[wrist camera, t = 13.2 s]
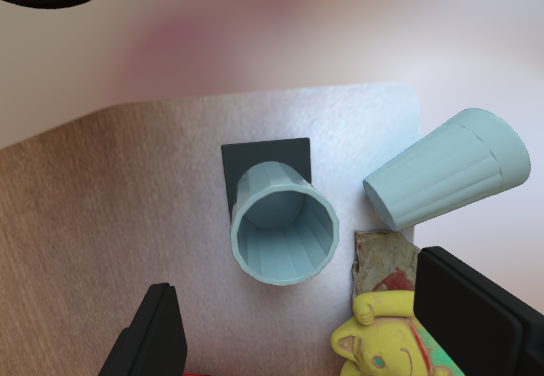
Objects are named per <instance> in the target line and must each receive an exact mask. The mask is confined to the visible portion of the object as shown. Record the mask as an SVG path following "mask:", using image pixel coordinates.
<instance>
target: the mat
mask: <svg viewBox="0 0 544 376" xmlns="http://www.w3.org/2000/svg"><path fill="white" fill-rule="evenodd" d="M221 149H222V157H223V165H224V173H225V181H226V189H227V197H228V205H229V213H230V221H231V222H232V213H233V204H234V195H235V192H236V188H237V185H238V182H239V180H240V179H241V177H242V176H243V175H244V174H245V173H246V171H248V170H249V169H250V168H252V167H253V166H255V165H257V164H260V163H263V162H271V161H274V162H281V163H284V164H287V165H289V166H291V167H292V168H294V169H295V170H296V171H297V172H298V173H299V174H301V175H302V176H303V177H304V178H305V179H306V180H307V181H308V182H309V183H310V184H311V162H310V139H309V138H296V139H284V140H273V141H261V142H250V143H239V144H227V145H222V146H221Z"/></svg>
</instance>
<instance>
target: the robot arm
mask: <svg viewBox="0 0 544 376" xmlns="http://www.w3.org/2000/svg"><path fill="white" fill-rule="evenodd" d="M413 313H414V315H415V317H416V319H417V320H418V321H419V323H420V324H421V325H422V326H423V327H424V328H425V330H426V331H427V332H428V333H429V334H430V335H431V336H432V338H433V339H434V340H435V341H436V342H437V343H438V345H439V346H440V347H441V348H442V349H443V350H444V352H445V353H446V354H447V355H448V356H449V357H450V358H451V360H452V361H453V362H454V363H455V364H456V365H457V367H458V368H459V369H460V370H461V371H462V372H463V374H464V375H465V376H544V315H542V314H541V313H539V312H538V311H536V310H535V309H533V308H532V307H530V306H529V305H527V304H526V303H524V302H523V301H521V300H520V299H518V298H517V297H515V296H513V295H512V294H511V293H509V292H508V291H506V290H505V289H503V288H501V287H500V286H499V285H497V284H496V283H494V282H493V281H491V280H489V279H488V278H487V277H485V276H484V275H482V274H481V273H479V272H478V271H476V270H475V269H473V268H472V267H470V266H469V265H467V264H466V263H464V262H462V261H461V260H459V259H458V258H457V257H455V256H454V255H452V254H451V253H449V252H448V251H446V250H445V249H443V248H441V247H439V246H433V247H426V248H423V249H422V250H421V252H419V253H418V256H417V267H416V279H415V290H414V302H413ZM186 357H187V343H186V338H185V333H184V328H183V323H182V318H181V314H180V309H179V304H178V299H177V294H176V289H175V287H174V286H170V285H169V283H168V282H167V283H159V284H152V285H151V286H150V287H149V289H148V291H147V293H146V295H145V297H144V299H143V301H142V303H141V305H140V307H139V309H138V311H137V312H136V314H135V316H134V318H133V320H132V322H131V324H130V326H129V327H128V328H125V329H123V330H122V332H121V333H120V335H119V337H118V339H117V341H116V343H115V344H114V346H113V348H112V350H111V352H110V354H109V356H108V358H107V359H106V361H105V363H104V365H103V367H102V369H101V371H100V373H99V374H98V376H183V371H184V367H185V362H186Z"/></svg>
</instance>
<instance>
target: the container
mask: <svg viewBox="0 0 544 376" xmlns="http://www.w3.org/2000/svg"><path fill="white" fill-rule="evenodd" d="M230 237H231V245H232V253H233V255H234V257H235V258H236V260H237V262H238V263H239V265H240V266H241V268H242V270H243V271H244V272H246V273H247V274H249V275H250V276H252V277H253V278H255V279H256V280H258V281H259V282H262V283H267V284H271V285H276V286H285V285H293V284H299V283H302V282H304V281H306V280H308V279H310V278H312V277H313V276H315V275H317V274H319V273H320V271H321V270H322V269H323V268H324V267H325V266H326V265H327V264H328V263H329V262H330V261H331V259H332V257H333V255H334V253H335V250H336V248H337V245H338V243H339V220H338V218H337V216H336V214H335V212H334V210H333V208H332V205H331V204H330V202H329V201H328V200H327V199H326V198H324V197H323V196H322V195H321V194H320V193H319V192H318V191H317V190H316V189H315V188H314V187H313V186H312V185H311V184H310V183H309V182H308V181H307V180H306V179H305V178H304V177H303V176H302V175H301V174H299V173H298V172H297V171H296V170H295V169H294V168H292V167H291V166H289V165H287V164H284V163H281V162H274V161H271V162H263V163H260V164H257V165H255V166H253V167H252V168H250V169H249V170H248V171H246V173H245V174H244V175H243V176H242V177H241V179H240V180H239V182H238V185H237V188H236V192H235V195H234V204H233V213H232V222H231V231H230Z"/></svg>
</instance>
